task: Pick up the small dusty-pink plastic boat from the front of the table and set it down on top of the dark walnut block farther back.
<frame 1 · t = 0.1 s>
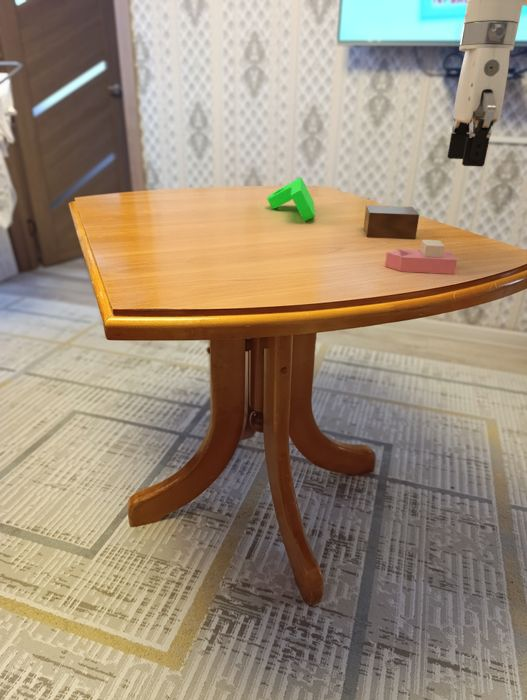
hand: (464, 162, 83), 17 cm above the table, tool pointing down, fingers open, 9 cm apart
block: (388, 233, 109), on the table
boat: (423, 268, 87), on the table
bracket: (289, 215, 124), on the table
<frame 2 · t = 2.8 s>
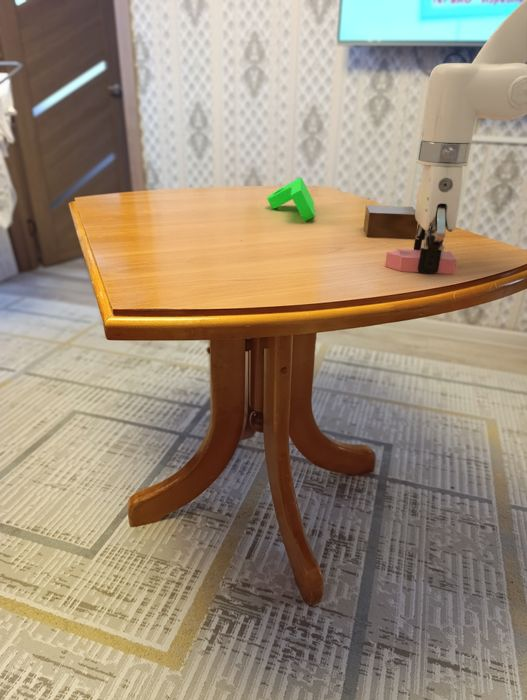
hand: (424, 265, 87), 0 cm above the table, tool pointing down, fingers closed on boat, 5 cm apart
boat: (423, 268, 87), on the table, touching gripper
everything else where it was.
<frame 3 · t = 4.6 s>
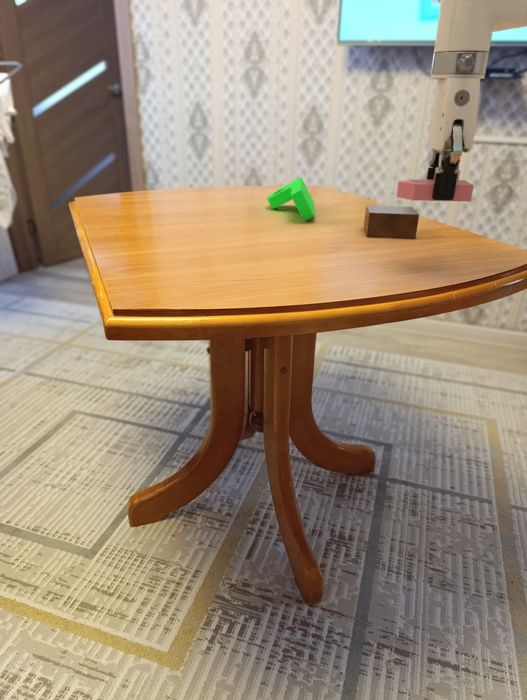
hand: (438, 195, 82), 12 cm above the table, tool pointing down, fingers closed on boat, 5 cm apart
boat: (438, 198, 82), point 12 cm above the table, touching gripper
everything else where it was.
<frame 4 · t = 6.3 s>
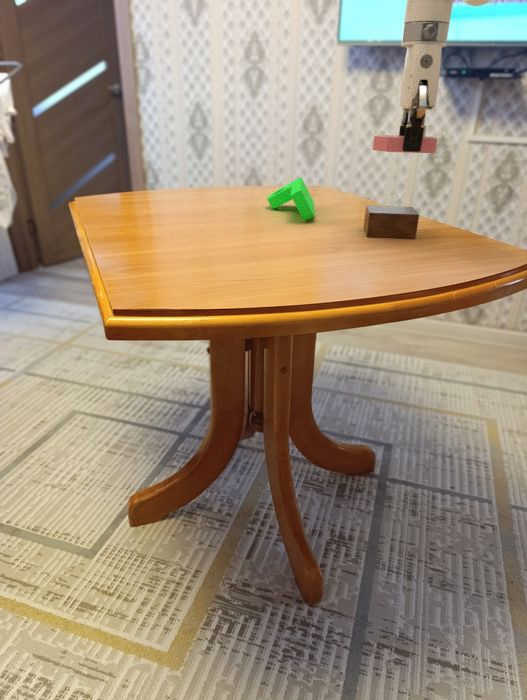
hand: (408, 148, 96), 18 cm above the table, tool pointing down, fingers closed on boat, 5 cm apart
boat: (408, 151, 96), point 17 cm above the table, touching gripper
everything else where it was.
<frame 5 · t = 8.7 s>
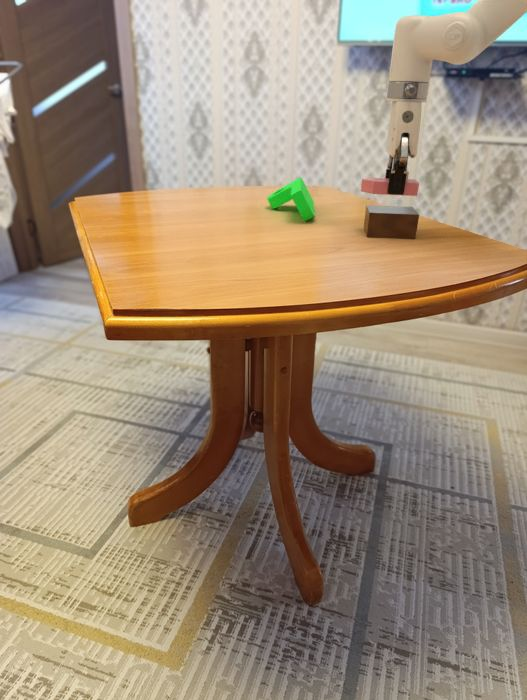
hand: (393, 190, 105), 9 cm above the table, tool pointing down, fingers closed on boat, 5 cm apart
boat: (393, 192, 105), point 8 cm above the table, touching gripper
everything else where it was.
when the fingers open (5 cm above the table, at t = 10.0 s): boat stays where it is, resting on block.
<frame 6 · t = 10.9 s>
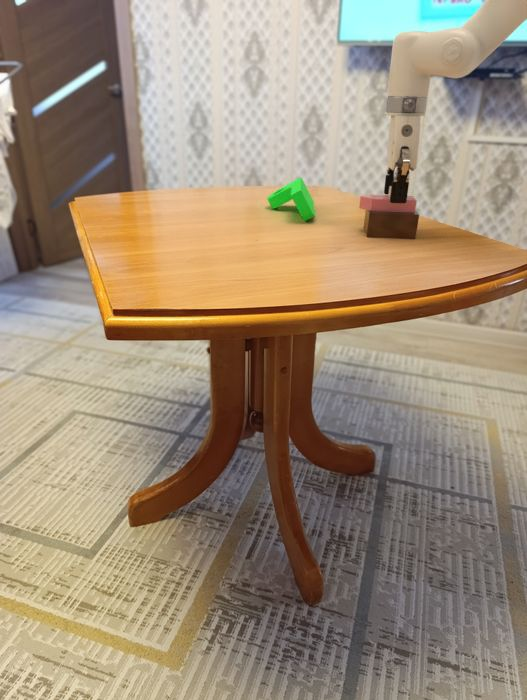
hand: (394, 198, 106), 7 cm above the table, tool pointing down, fingers open, 9 cm apart
boat: (391, 209, 107), point 5 cm above the table, touching block
everything else where it was.
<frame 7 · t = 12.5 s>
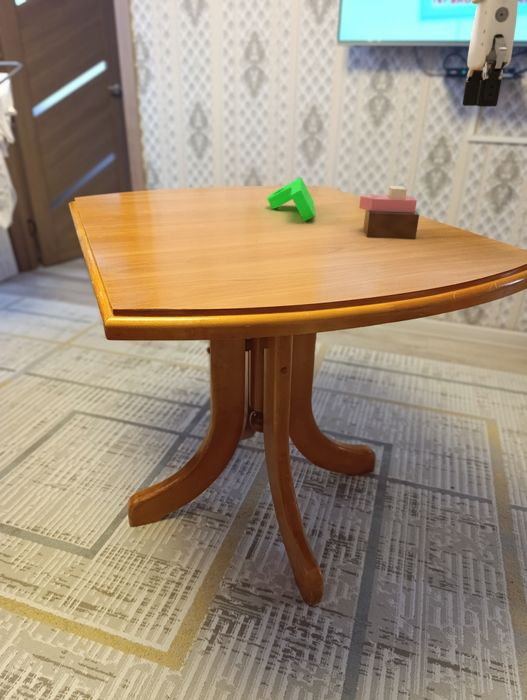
hand: (478, 105, 91), 25 cm above the table, tool pointing down, fingers open, 9 cm apart
nothing on the table moved.
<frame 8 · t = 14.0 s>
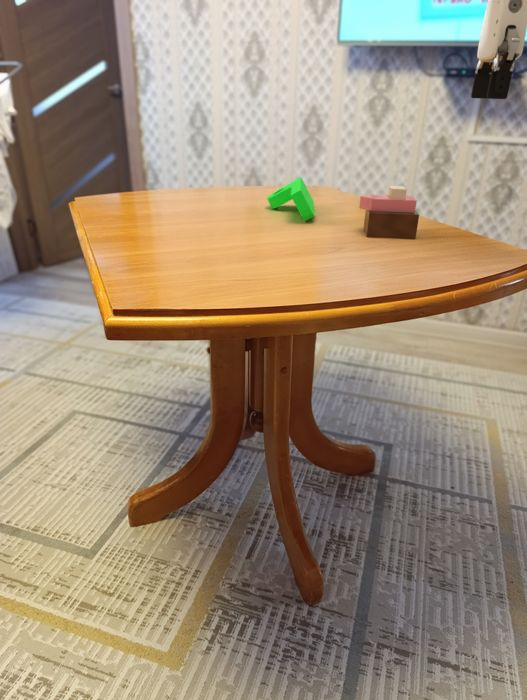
hand: (487, 98, 90), 26 cm above the table, tool pointing down, fingers open, 9 cm apart
nothing on the table moved.
at the end: boat inside the target area on the block (0.1 cm from its centre), point 5.0 cm above the block's base; boat tilted 0°; the gripper is holding nothing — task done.
